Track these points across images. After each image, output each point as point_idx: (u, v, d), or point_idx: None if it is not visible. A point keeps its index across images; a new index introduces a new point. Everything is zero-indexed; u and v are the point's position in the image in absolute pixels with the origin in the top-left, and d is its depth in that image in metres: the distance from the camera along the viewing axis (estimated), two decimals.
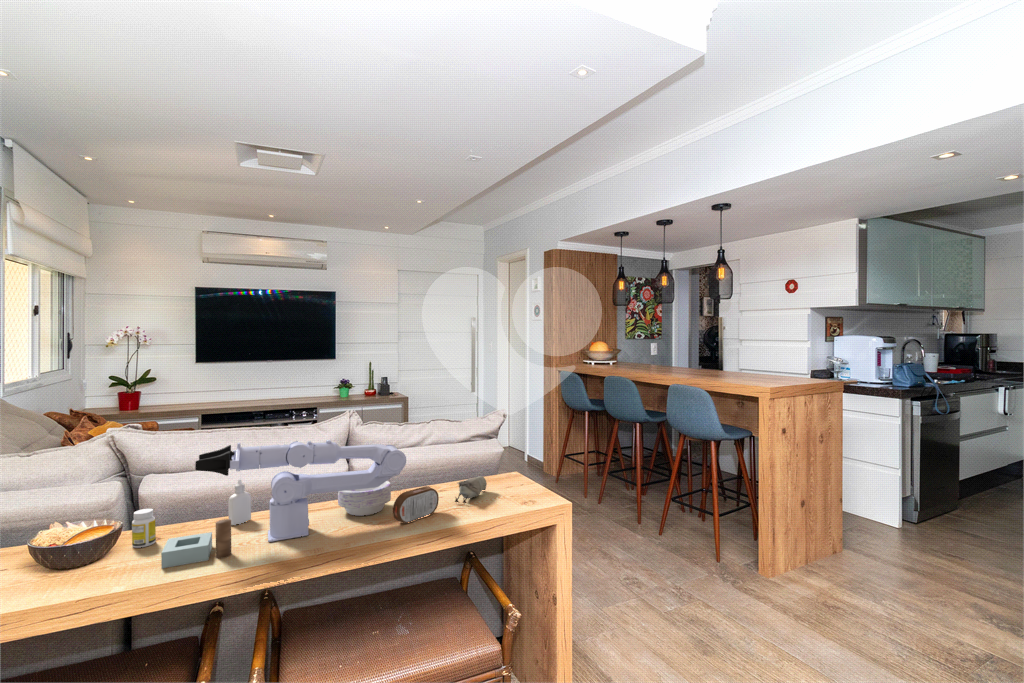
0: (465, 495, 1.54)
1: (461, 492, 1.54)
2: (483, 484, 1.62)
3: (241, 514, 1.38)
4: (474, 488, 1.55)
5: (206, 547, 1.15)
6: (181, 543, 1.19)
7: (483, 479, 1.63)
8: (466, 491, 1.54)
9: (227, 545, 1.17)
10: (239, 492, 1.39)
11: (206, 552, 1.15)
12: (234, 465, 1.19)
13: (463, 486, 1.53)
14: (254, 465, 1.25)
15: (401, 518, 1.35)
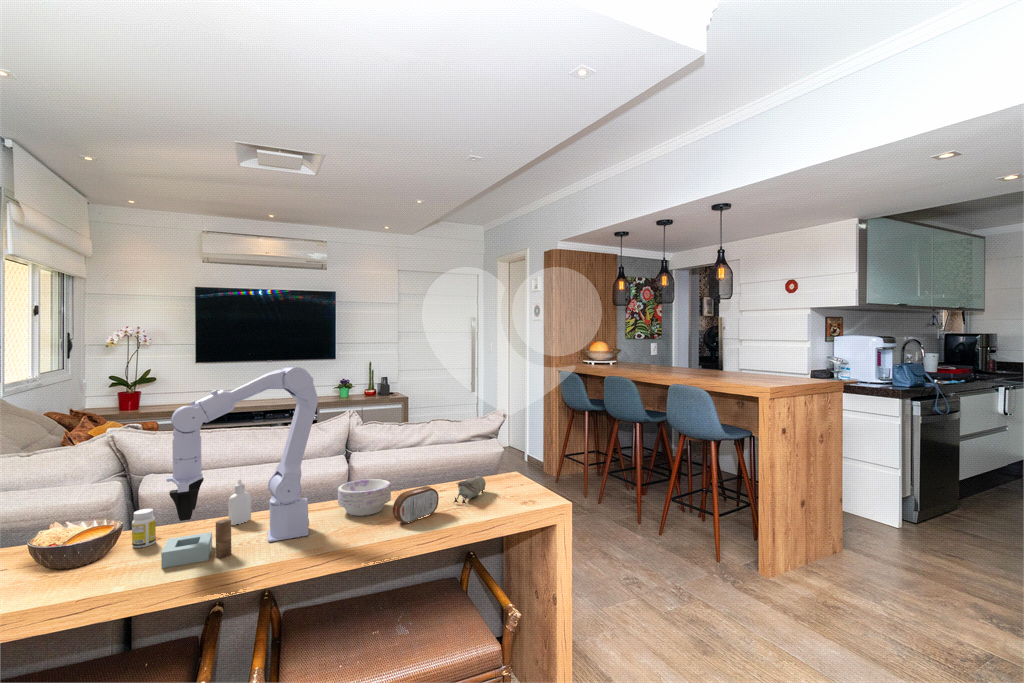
0: (464, 495, 1.54)
1: (460, 492, 1.54)
2: (482, 484, 1.62)
3: (241, 514, 1.38)
4: (473, 488, 1.55)
5: (206, 547, 1.15)
6: (181, 543, 1.19)
7: (482, 479, 1.63)
8: (466, 491, 1.53)
9: (227, 545, 1.17)
10: (239, 492, 1.39)
11: (206, 552, 1.15)
12: (182, 488, 1.11)
13: (462, 486, 1.53)
14: (193, 463, 1.16)
15: (401, 518, 1.35)
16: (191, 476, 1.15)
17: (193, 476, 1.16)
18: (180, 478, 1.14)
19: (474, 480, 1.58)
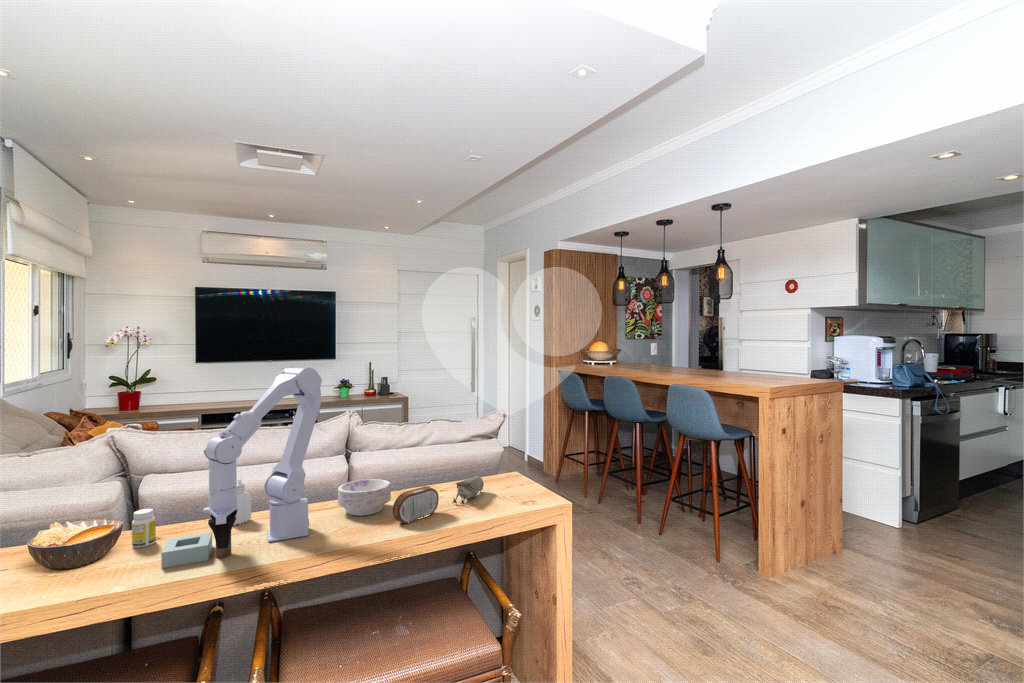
0: (463, 496, 1.54)
1: (459, 493, 1.54)
2: (480, 484, 1.62)
3: (241, 514, 1.38)
4: (472, 488, 1.55)
5: (206, 547, 1.15)
6: (181, 543, 1.19)
7: (480, 479, 1.63)
8: (465, 492, 1.53)
9: None
10: (239, 492, 1.39)
11: (206, 552, 1.15)
12: (220, 520, 1.11)
13: (461, 486, 1.53)
14: (229, 494, 1.16)
15: (401, 518, 1.35)
16: (227, 507, 1.16)
17: (229, 507, 1.16)
18: (217, 509, 1.15)
19: (472, 480, 1.58)
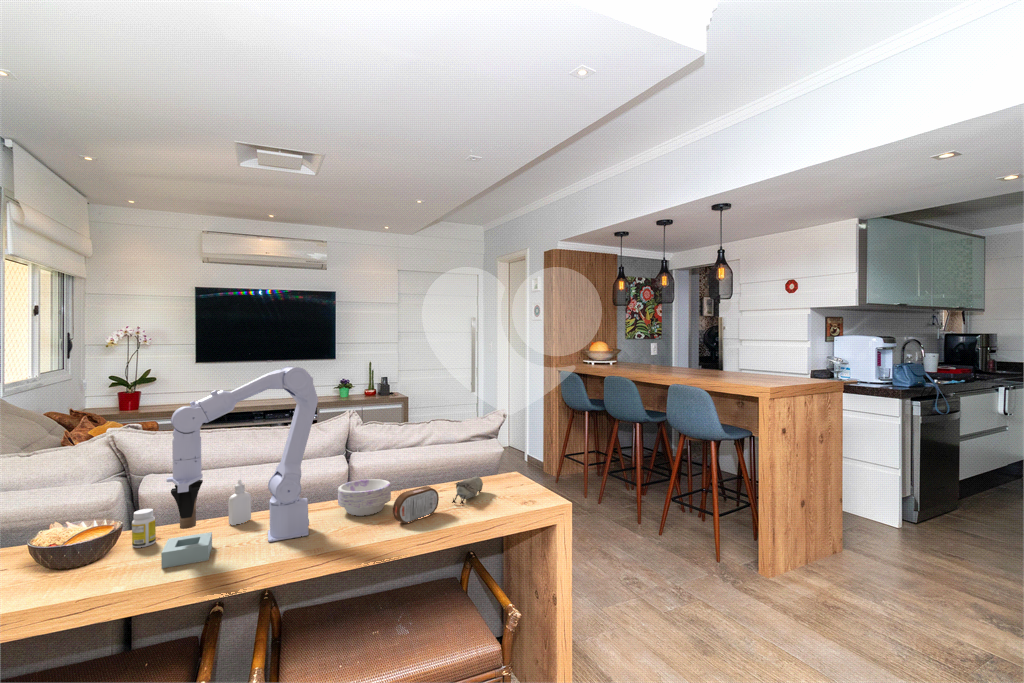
0: (462, 496, 1.54)
1: (458, 493, 1.53)
2: (479, 484, 1.62)
3: (241, 514, 1.38)
4: (471, 488, 1.55)
5: (206, 547, 1.15)
6: (181, 543, 1.19)
7: (479, 479, 1.63)
8: (464, 492, 1.53)
9: None
10: (239, 492, 1.39)
11: (206, 552, 1.15)
12: (182, 488, 1.11)
13: (460, 487, 1.53)
14: (193, 463, 1.16)
15: (401, 518, 1.35)
16: (191, 476, 1.15)
17: (193, 476, 1.16)
18: (180, 478, 1.14)
19: (472, 480, 1.58)
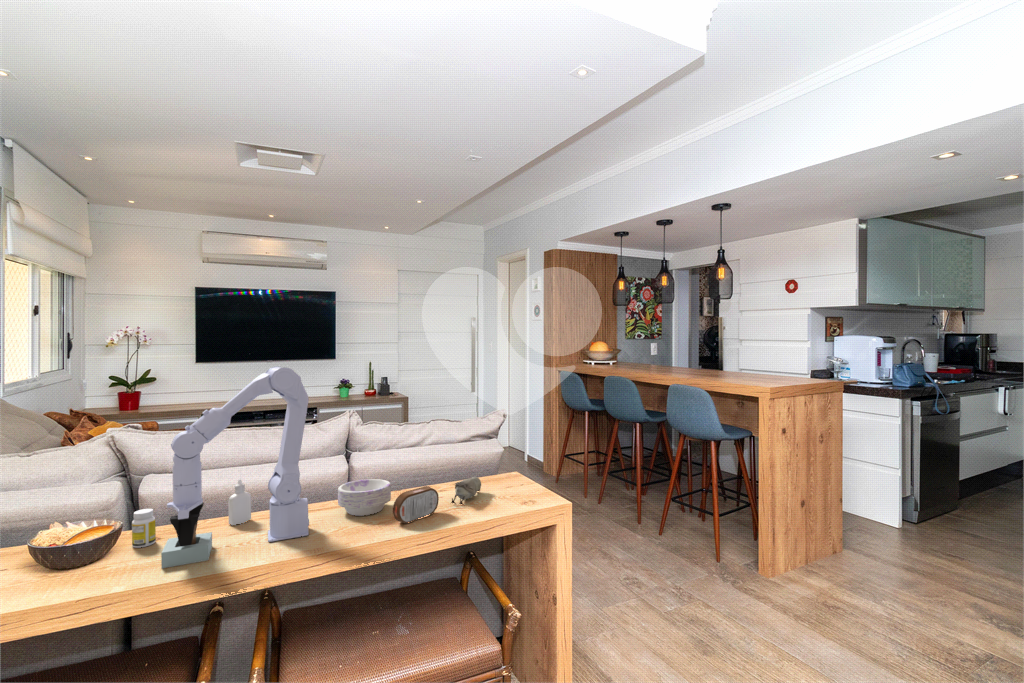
0: (461, 496, 1.53)
1: (457, 493, 1.53)
2: (478, 485, 1.62)
3: (241, 514, 1.38)
4: (470, 489, 1.55)
5: (206, 547, 1.15)
6: None
7: (478, 480, 1.62)
8: (463, 492, 1.53)
9: (191, 544, 1.16)
10: (239, 492, 1.39)
11: (206, 552, 1.15)
12: (182, 514, 1.11)
13: (459, 487, 1.52)
14: (193, 489, 1.16)
15: (401, 518, 1.35)
16: (191, 502, 1.15)
17: (193, 502, 1.16)
18: (180, 504, 1.14)
19: (471, 481, 1.57)
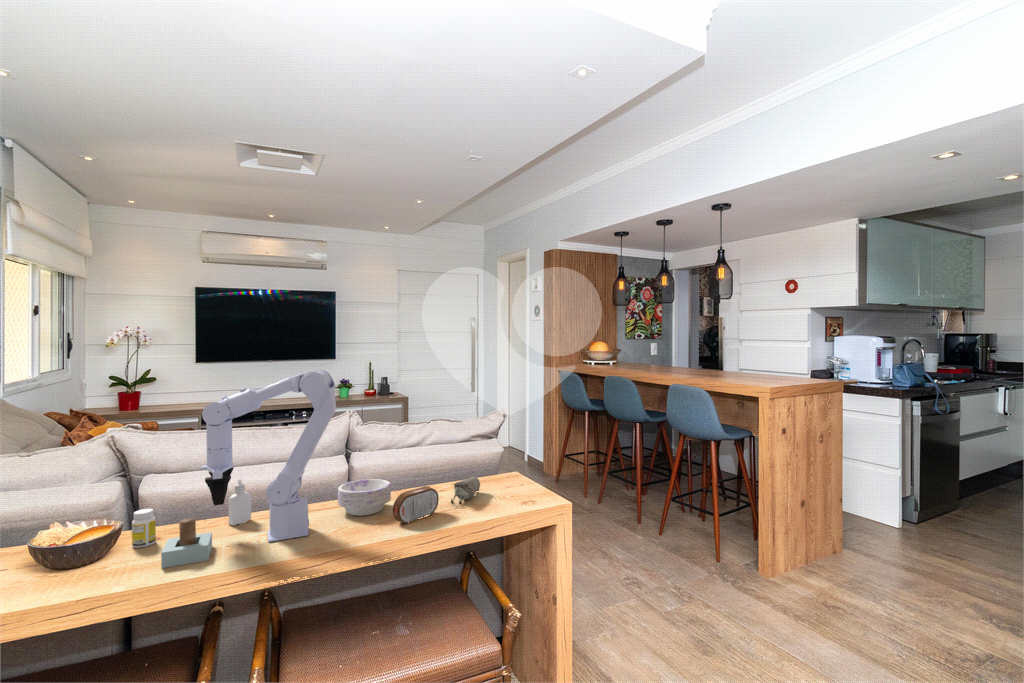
0: (461, 496, 1.53)
1: (456, 493, 1.53)
2: (477, 485, 1.62)
3: (241, 514, 1.38)
4: (469, 489, 1.54)
5: (206, 547, 1.15)
6: None
7: (477, 480, 1.62)
8: (462, 492, 1.52)
9: (191, 544, 1.16)
10: (239, 492, 1.39)
11: (206, 552, 1.15)
12: (217, 475, 1.21)
13: (459, 487, 1.52)
14: (225, 453, 1.26)
15: (401, 518, 1.35)
16: (223, 465, 1.26)
17: (225, 465, 1.26)
18: (214, 466, 1.25)
19: (470, 481, 1.57)
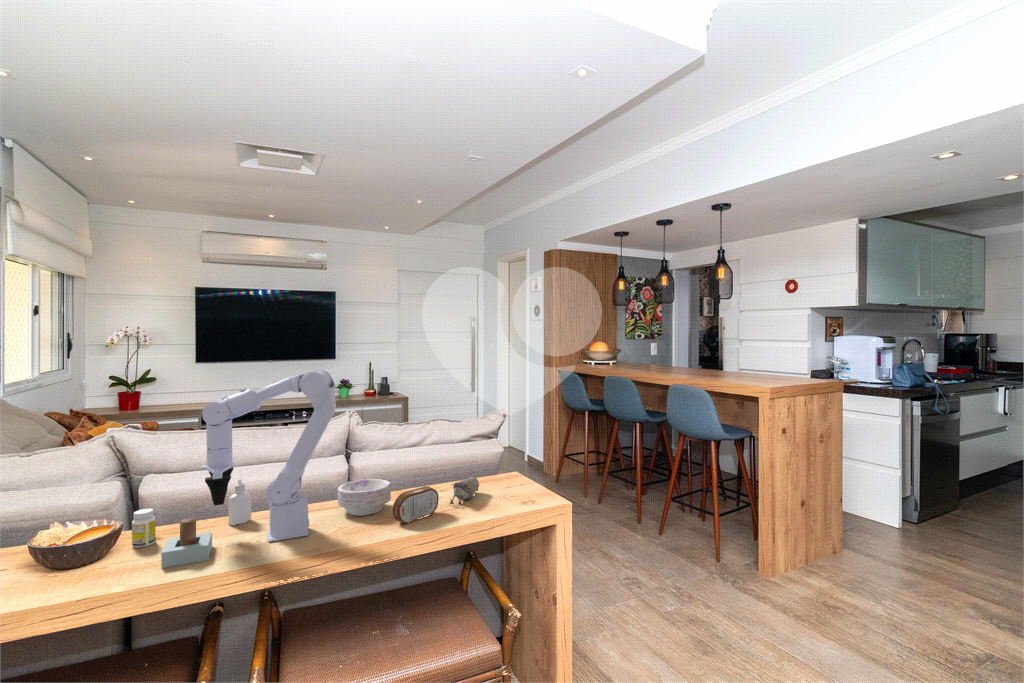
0: (460, 497, 1.53)
1: (456, 494, 1.53)
2: (476, 485, 1.61)
3: (241, 514, 1.38)
4: (469, 489, 1.54)
5: (206, 547, 1.15)
6: None
7: (476, 480, 1.62)
8: (461, 493, 1.52)
9: (191, 544, 1.16)
10: (239, 492, 1.39)
11: (206, 552, 1.15)
12: (217, 475, 1.21)
13: (458, 487, 1.52)
14: (225, 453, 1.27)
15: (401, 518, 1.35)
16: (224, 465, 1.26)
17: (225, 465, 1.26)
18: (214, 466, 1.25)
19: (469, 481, 1.57)
